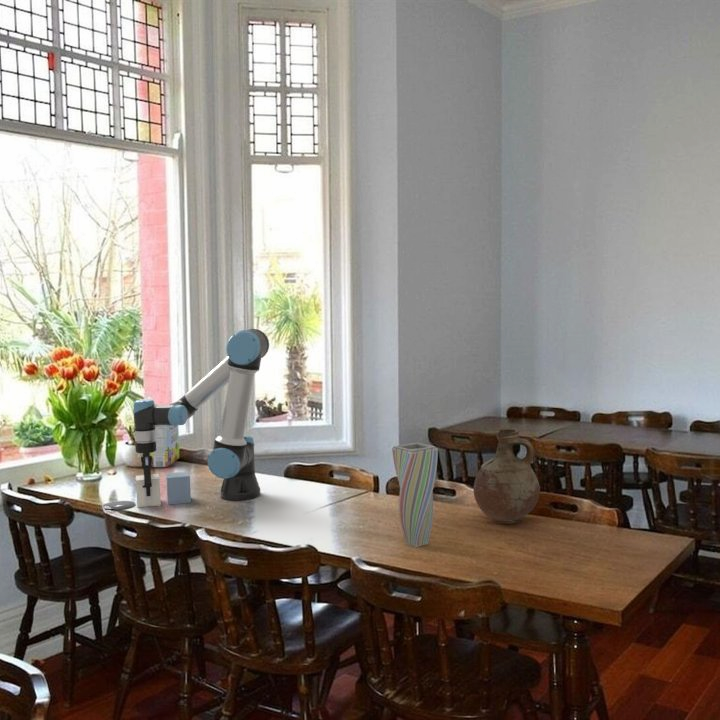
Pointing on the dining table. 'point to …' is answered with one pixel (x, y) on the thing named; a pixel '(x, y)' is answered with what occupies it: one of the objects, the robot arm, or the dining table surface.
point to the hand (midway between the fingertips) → (148, 501)
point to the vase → (415, 489)
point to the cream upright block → (141, 493)
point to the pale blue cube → (178, 487)
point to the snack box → (166, 446)
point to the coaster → (121, 505)
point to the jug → (507, 481)
